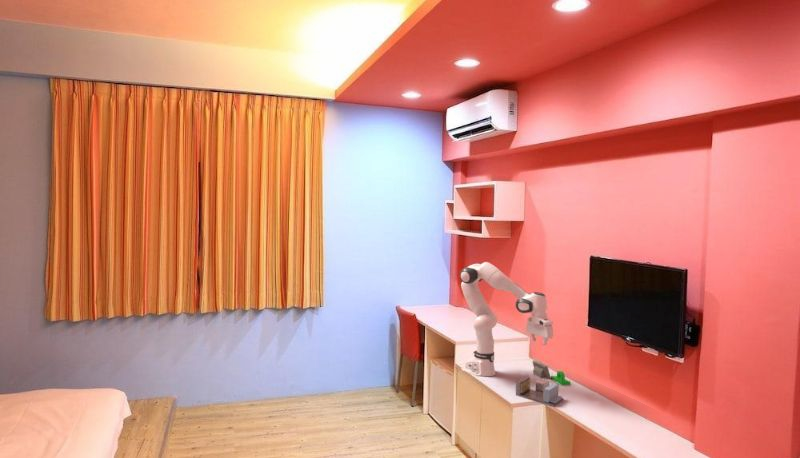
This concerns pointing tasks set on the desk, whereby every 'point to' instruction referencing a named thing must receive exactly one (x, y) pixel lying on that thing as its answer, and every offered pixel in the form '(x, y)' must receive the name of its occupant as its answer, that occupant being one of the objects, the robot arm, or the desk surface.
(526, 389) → the vise base
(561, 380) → the mechanical part
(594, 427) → the desk surface
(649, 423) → the desk surface
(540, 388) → the steel block
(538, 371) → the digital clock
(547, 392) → the free jaw
